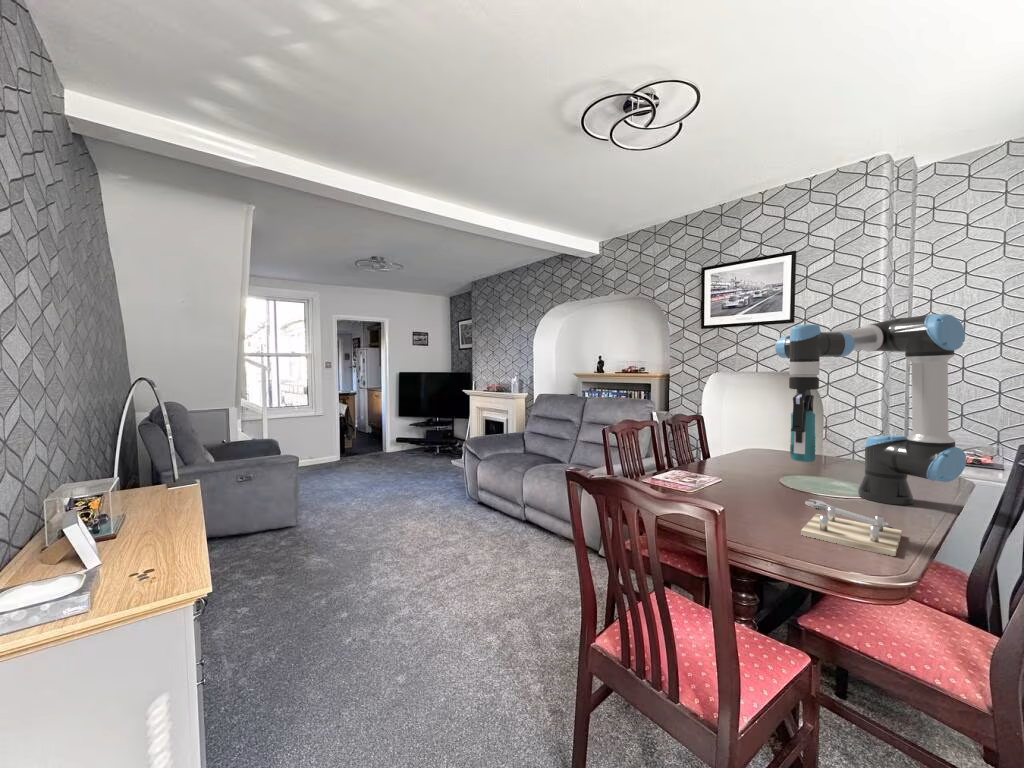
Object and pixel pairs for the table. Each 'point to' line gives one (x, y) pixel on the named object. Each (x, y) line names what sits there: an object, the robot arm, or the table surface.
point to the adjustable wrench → (843, 512)
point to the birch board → (854, 535)
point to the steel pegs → (873, 528)
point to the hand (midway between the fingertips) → (802, 451)
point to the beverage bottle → (809, 439)
